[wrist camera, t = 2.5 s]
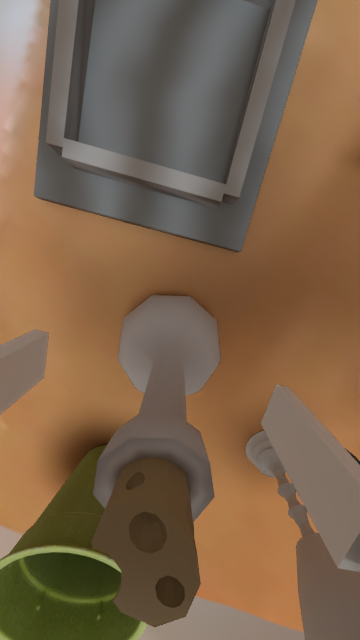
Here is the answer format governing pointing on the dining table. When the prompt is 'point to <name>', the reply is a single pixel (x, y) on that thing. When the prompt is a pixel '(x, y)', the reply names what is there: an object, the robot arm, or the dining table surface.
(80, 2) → the ledge nook
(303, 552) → the chalice
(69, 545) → the plant pot
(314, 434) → the robot arm
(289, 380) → the dining table surface
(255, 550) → the dining table surface
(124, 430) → the potion bottle
